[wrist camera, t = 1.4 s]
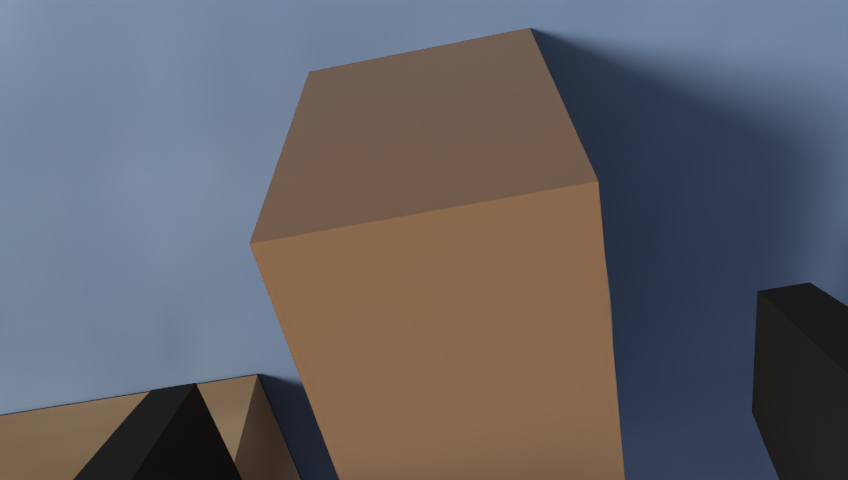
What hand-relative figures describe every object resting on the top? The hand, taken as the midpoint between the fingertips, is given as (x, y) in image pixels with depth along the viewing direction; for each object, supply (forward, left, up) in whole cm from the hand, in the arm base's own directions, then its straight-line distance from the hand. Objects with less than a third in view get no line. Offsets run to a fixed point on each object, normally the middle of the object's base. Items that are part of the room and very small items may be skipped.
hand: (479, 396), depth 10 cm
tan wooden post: (0, 0, -3) cm, 3 cm away
